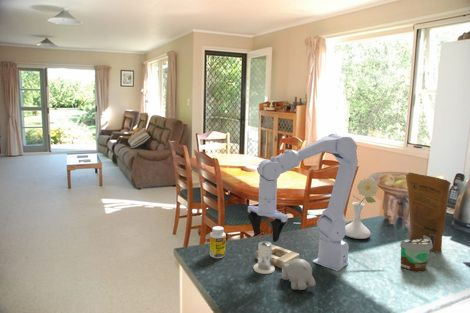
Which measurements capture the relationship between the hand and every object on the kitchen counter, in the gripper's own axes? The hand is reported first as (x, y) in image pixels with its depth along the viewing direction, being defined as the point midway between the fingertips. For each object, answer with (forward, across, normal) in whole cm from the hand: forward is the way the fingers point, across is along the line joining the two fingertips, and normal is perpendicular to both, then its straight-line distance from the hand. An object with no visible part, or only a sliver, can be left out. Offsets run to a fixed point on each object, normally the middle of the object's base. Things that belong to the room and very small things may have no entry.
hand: (266, 237), depth 120 cm
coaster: (+10, 0, -1) cm, 10 cm away
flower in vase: (+11, +11, +49) cm, 52 cm away
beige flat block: (+10, 0, +8) cm, 13 cm away
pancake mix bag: (+11, +33, +59) cm, 69 cm away
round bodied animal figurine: (+11, +14, -3) cm, 17 cm away
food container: (+11, +38, +35) cm, 53 cm away
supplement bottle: (+11, -18, -4) cm, 21 cm away
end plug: (+10, 0, -1) cm, 10 cm away
